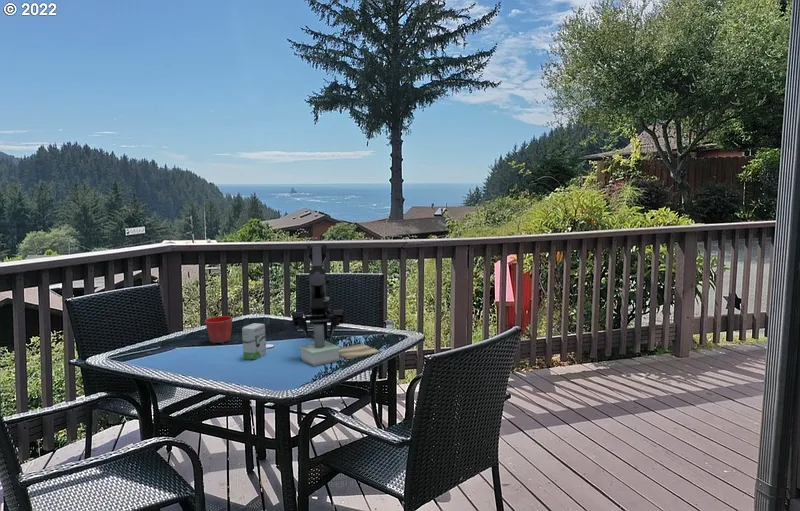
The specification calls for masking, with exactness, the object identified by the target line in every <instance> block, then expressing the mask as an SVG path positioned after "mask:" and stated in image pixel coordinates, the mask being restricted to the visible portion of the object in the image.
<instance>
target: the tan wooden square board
mask: <svg viewBox="0 0 800 511" xmlns="http://www.w3.org/2000/svg"><path fill="white" fill-rule="evenodd" d="M340 348H341V350H339V357H340V358H343V359H345V358H346V359H345V360H347V359H350V360H354V359H353V358H355V359H359V358H358V357H360V358H363V356H364V357H368V356H367V355H369V356H372V355H371V354H374V355H377V354H376V353H378V354H381V353H382V351H381V350H379V349H376V348H374V347H371V346H368V345H366V344H364V343H359V344H358V343H357V344H354V345H349V346H343V347H340ZM380 352H381V353H380Z"/></svg>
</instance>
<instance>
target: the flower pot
mask: <svg viewBox="0 0 800 511" xmlns="http://www.w3.org/2000/svg"><path fill="white" fill-rule="evenodd" d="M204 321H205V322H204V323H205V327H206V330H207V335H208V338H209V342H210V341H212V342H224V341H228V340H230V341H231V335H232V326H233V317H232V316H229V315H228V316H227V315H223V316H222V315H221V316H213V317H209V318H205V320H204Z"/></svg>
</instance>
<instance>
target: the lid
mask: <svg viewBox="0 0 800 511" xmlns="http://www.w3.org/2000/svg"><path fill="white" fill-rule="evenodd" d="M313 335H314V338H313V339H314V340H313V341H314V343H310V344H305V345H300V346H298V349H299V350H300V351H301V350H302V351H304V352H306V353H308V354H310V355H312V356H314V355H319V354H324V353H329V352H334V351H339V350H341V348H342V347H340V346H338V345H336V344H333V343H332V342H330V341H327V340H326V341H325V338H324V324H315V325H314V326H313Z"/></svg>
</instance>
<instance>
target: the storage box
mask: <svg viewBox="0 0 800 511" xmlns="http://www.w3.org/2000/svg"><path fill="white" fill-rule="evenodd" d="M300 351H301V355H300V356H301V361H303V362H305V363H307V364H309V365H310V366H312V367H317V366H321V365H325V364H331V363H336V362H340V356H339V351H334V352H329V353H324V354H319V355H314V356H312V355H310V354H308V353H306V352H304V351H302V350H300Z"/></svg>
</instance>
